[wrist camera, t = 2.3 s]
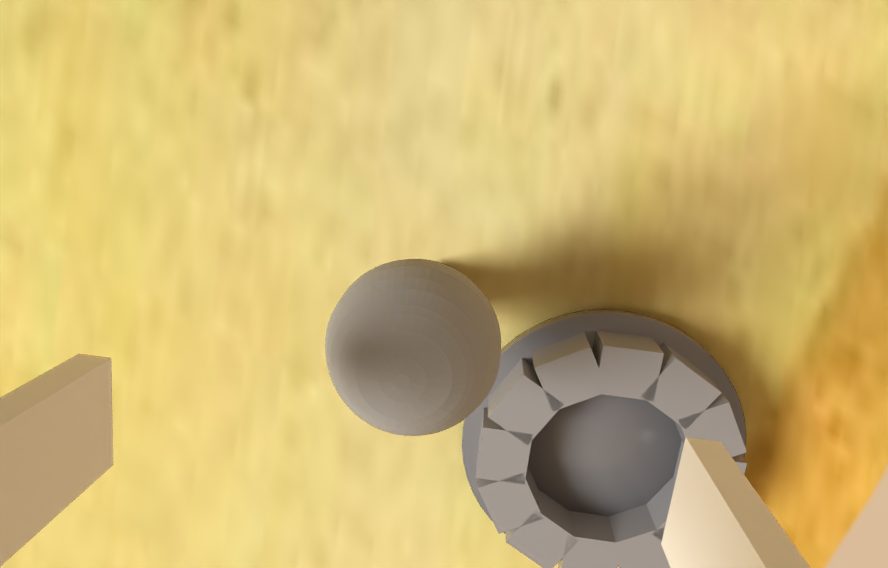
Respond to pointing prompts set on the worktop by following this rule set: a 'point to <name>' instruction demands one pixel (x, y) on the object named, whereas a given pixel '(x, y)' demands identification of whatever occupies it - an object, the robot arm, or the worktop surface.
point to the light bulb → (413, 347)
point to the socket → (595, 436)
